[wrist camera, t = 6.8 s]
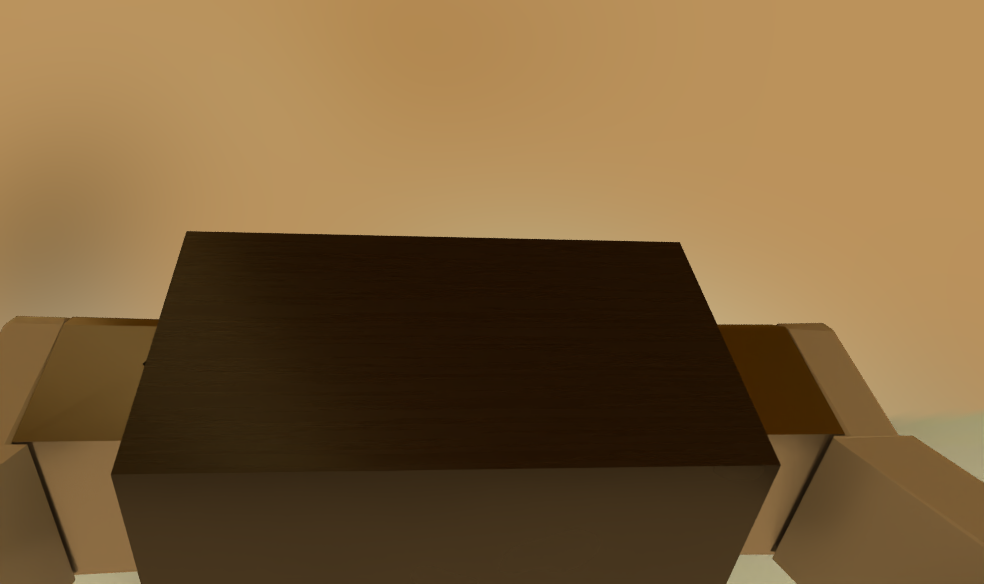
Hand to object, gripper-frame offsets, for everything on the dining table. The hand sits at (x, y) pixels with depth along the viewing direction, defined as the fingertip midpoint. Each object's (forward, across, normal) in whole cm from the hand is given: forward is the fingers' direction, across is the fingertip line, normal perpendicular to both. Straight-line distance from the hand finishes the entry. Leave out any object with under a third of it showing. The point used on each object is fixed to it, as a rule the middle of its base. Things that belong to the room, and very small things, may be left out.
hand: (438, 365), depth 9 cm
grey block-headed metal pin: (+1, 0, +9) cm, 9 cm away
